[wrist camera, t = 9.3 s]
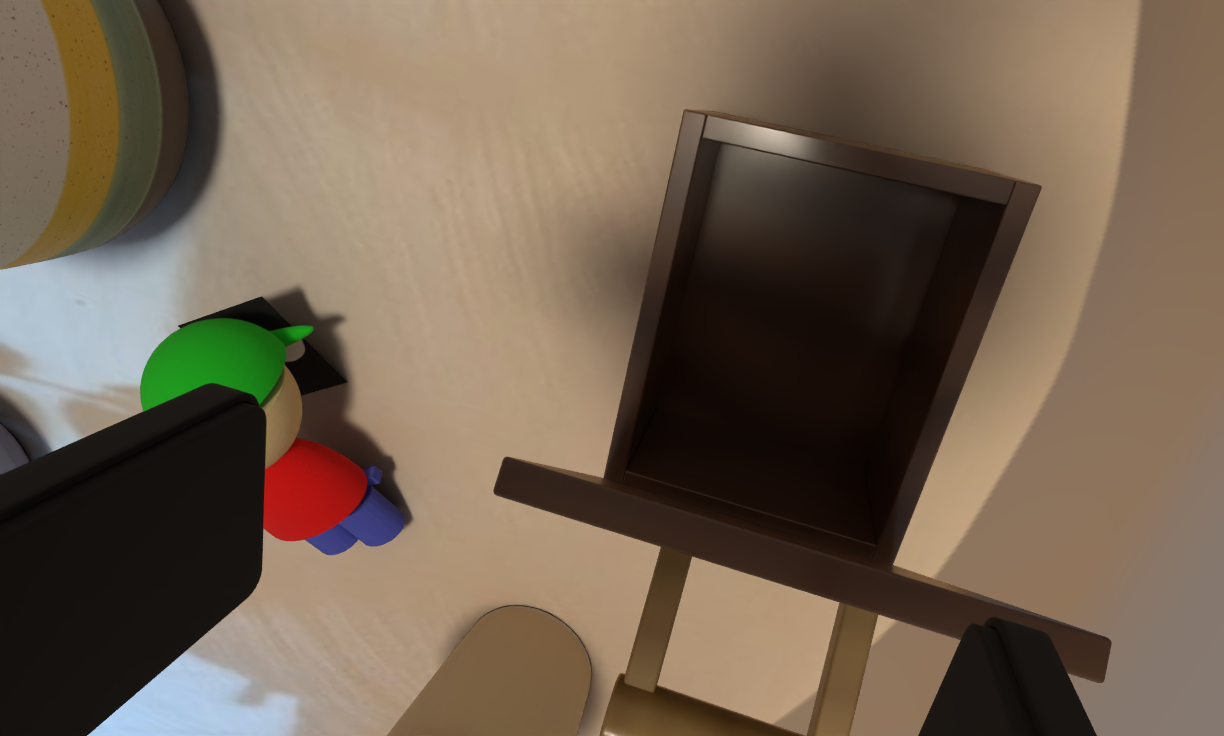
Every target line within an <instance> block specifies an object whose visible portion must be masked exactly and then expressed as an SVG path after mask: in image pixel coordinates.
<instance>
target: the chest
mask: <svg viewBox="0 0 1224 736" xmlns="http://www.w3.org/2000/svg"><path fill="white" fill-rule="evenodd" d="M1040 191H1041V186H1040V185H1037V184H1034V183H1030V182H1027V181H1023V180H1020V179H1017V178H1013V177H1010V176H1006V175H1003V174H1000V173H996V172H993V171H989V170H986V169H981V168H976V167H972V166H967V165H962V164H957V163H953V162H948V161H943V160H939V159H934V158H929V157H925V156H920V155H915V154H911V153H906V152H901V151H897V150H892V149H887V148H883V147H878V146H873V145H869V144H864V143H859V142H855V141H850V140H845V139H840V138H836V137H831V136H826V135H822V134H817V133H812V132H808V131H803V130H798V129H794V128H789V127H784V126H780V125H775V124H770V123H766V122H761V121H756V120H752V119H747V118H742V117H737V116H733V115H728V114H723V113H719V112H714V111H702V110H687V109H686V110H684V112H683V117H682V121H681V126H680V130H679V135H678V139H677V144H676V149H675V153H674V158H673V162H672V167H671V171H670V176H669V181H668V185H667V190H666V194H665V199H664V203H663V208H662V213H661V217H660V222H659V226H658V231H657V236H656V240H655V245H654V249H653V254H652V258H651V263H650V268H649V272H648V277H647V281H646V286H645V290H644V295H643V300H642V304H641V309H640V313H639V318H638V322H637V327H636V332H635V336H634V341H633V345H632V350H631V354H630V359H629V364H628V368H627V373H626V377H625V382H624V386H623V391H622V396H621V400H620V405H619V409H618V414H617V419H616V423H615V428H614V432H613V437H612V441H611V446H610V451H609V455H608V460H607V464H606V469H605V473H604V478H605V479H608V480H611V481H615V482H618V483H621V484H625V485H628V486H631V487H635V488H638V489H641V490H645V491H648V492H651V493H655V494H658V495H661V496H665V497H668V498H671V499H675V500H678V501H681V502H685V503H688V504H691V505H695V506H698V507H701V508H705V509H708V510H711V511H715V512H718V513H721V514H725V515H728V516H731V517H735V518H738V519H741V520H745V521H748V522H751V523H755V524H758V525H761V526H764V527H768V528H771V529H774V530H778V531H781V532H784V533H788V534H791V535H794V536H798V537H801V538H804V539H808V540H811V541H814V542H818V543H821V544H824V545H828V546H831V547H834V548H838V549H841V550H844V551H848V552H851V553H854V554H858V555H861V556H864V557H868V558H871V559H874V560H878V561H881V562H884V563H888V564H891V565H893V563H894V561H895V558H896V556H897V553H898V551H899V548H900V545H901V543H902V540H903V538H904V535H905V533H906V530H907V528H908V525H909V523H910V520H911V518H912V515H913V512H914V510H915V507H916V505H917V502H918V500H919V497H920V495H921V492H922V490H923V487H924V485H925V482H926V480H927V477H928V474H929V472H930V469H931V467H932V464H933V462H934V459H935V457H936V454H937V452H938V449H939V447H940V444H941V442H942V439H943V436H944V434H945V431H946V429H947V426H948V424H949V421H950V419H951V416H952V414H953V411H954V409H955V406H956V404H957V401H958V398H959V396H960V393H961V391H962V388H963V386H964V383H965V381H966V378H967V376H968V373H969V371H970V368H971V366H972V363H973V360H974V358H975V355H976V353H977V350H978V348H979V345H980V343H981V340H982V338H983V335H984V333H985V330H986V328H987V325H988V322H989V320H990V317H991V315H992V312H993V310H994V307H995V305H996V302H997V300H998V297H999V295H1000V292H1001V289H1002V287H1003V284H1004V282H1005V279H1006V277H1007V274H1008V272H1009V269H1010V267H1011V264H1012V262H1013V259H1014V257H1015V254H1016V251H1017V249H1018V246H1019V244H1020V241H1021V239H1022V236H1023V234H1024V231H1025V229H1026V226H1027V224H1028V221H1029V219H1030V216H1031V213H1032V211H1033V208H1034V206H1035V203H1036V201H1037V198H1038V196H1039V193H1040Z"/></svg>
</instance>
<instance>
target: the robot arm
mask: <svg viewBox="0 0 1224 736" xmlns="http://www.w3.org/2000/svg"><path fill="white" fill-rule="evenodd" d="M266 427H267V419H266V414H265V411H264V410H263V409H262V408H260V407H259V403H258V401H257V398H256V397H255V396H254V395H252V394H250V393H247V392H244V391H240V390H237V389H234V388H230V387H227V386H224V385H220V384H216V383H209V384H205V385H202V386H200V387H198V388H196V389H193V390H191V391H189V392H187V393H184V394H182V395H180V396H178V397H175V398H173V399H171V400H169V401H166V402H164V403H162V404H159V405H157V406H155V407H153V408H150V409H148V410H146V411H144V412H141V413H139V414H137V415H135V416H132V417H130V418H128V419H126V420H123V421H121V422H119V423H117V424H114V425H112V426H110V427H107V428H105V429H103V430H101V431H98V432H96V433H94V434H92V435H89V436H87V437H85V438H83V439H80V440H78V441H76V442H74V443H71V444H69V445H67V446H65V447H62V448H60V449H58V450H55V451H53V452H51V453H49V454H46V455H44V456H42V457H40V458H37V459H35V460H33V461H31V462H28V463H26V464H24V465H22V466H19V467H17V468H15V469H12V470H10V471H8V472H6V473H3V474H1V475H0V736H87V735H88V734H90V733H91V732H92V731H93V730H94V729H95V728H97V727H98V726H99V725H100V724H101V723H102V722H104V721H105V720H106V719H107V718H108V717H109V716H111V715H112V714H113V713H114V712H115V711H116V710H118V709H119V708H120V707H121V706H122V705H123V704H124V703H126V702H127V701H128V700H129V699H130V698H131V697H133V696H134V695H135V694H136V693H137V692H138V691H140V690H141V689H142V688H143V687H144V686H145V685H147V684H148V683H149V682H150V681H151V680H152V679H154V678H155V677H156V676H157V675H158V674H159V673H161V672H162V671H163V670H164V669H165V668H166V667H168V666H169V665H170V664H171V663H172V662H173V661H175V660H176V659H177V658H178V657H179V656H180V655H182V654H183V653H184V652H185V651H186V650H187V649H189V648H190V647H191V646H192V645H193V644H194V643H196V642H197V641H198V640H199V639H200V638H201V637H203V636H204V635H205V634H206V633H207V632H208V631H210V630H211V629H212V628H213V627H214V626H215V625H216V624H218V623H219V622H220V621H221V620H222V619H223V618H225V617H226V616H227V615H228V614H229V613H230V612H232V611H233V610H234V609H235V608H236V607H237V606H239V605H240V604H241V603H242V602H243V601H244V600H246V599H247V598H248V597H249V596H250V595H251V594H252V592H253V591H254V589H255V588H256V586H257V584H258V582H259V580H260V577H261V572H262V553H263V522H264V490H265V459H266ZM918 736H1097V735H1096V733H1095V731H1094V729H1093V727H1092V725H1091V722H1090V720H1089V718H1088V716H1087V714H1086V712H1085V710H1084V708H1083V706H1082V703H1081V701H1080V700H1079V697H1078V695H1077V693H1076V691H1075V689H1074V686H1073V684H1072V682H1071V680H1070V678H1069V676H1068V674H1067V672H1066V670H1065V667H1064V665H1063V663H1062V661H1061V659H1060V657H1059V655H1058V653H1057V651H1056V648H1055V646H1054V644H1053V642H1052V640H1051V638H1050V637H1049V635H1048V634H1047V633H1045V632H1043V631H1041V630H1037V629H1034V628H1031V627H1027V626H1024V625H1021V624H1017V623H1014V622H1011V621H1007V620H1004V619H1001V618H997V617H992V618H989V619H988V620H987V621H986V622H985V623H984V625H983V626H981V625H977V624H974V623H973V624H970V625H969V626H968V627H967V629H966V630H965V632H964V634H963V636H962V639H961V641H960V643H959V646H958V648H957V650H956V652H955V654H954V657H953V659H952V661H951V664H950V666H949V668H948V670H947V672H946V675H945V677H944V679H943V681H942V684H941V686H940V688H939V690H938V693H937V695H936V697H935V699H934V702H933V704H932V706H931V708H930V711H929V713H928V715H927V717H926V720H925V722H924V724H923V726H922V729H921V731H920V733H919V735H918Z"/></svg>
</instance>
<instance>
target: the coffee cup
mask: <svg viewBox="0 0 1224 736" xmlns="http://www.w3.org/2000/svg"><path fill="white" fill-rule="evenodd" d="M590 681H591V667H590V661H589V658H588V654H587V652H586V650H585V648H584V646H583V644H582V643H581V641H580V640H579V638H578V637H577V636H576V634H575V633H574V632H573V631H572V630H571V629H570V628H569V627H568V626H567V625H566V624H564V623H563V622H561V621H560V620H558V619H557V618H556V617H554V616H552V615H550V614H548V613H546V612H544V611H541V610H538V609H535V608H531V607H523V606H508V607H503V608H500V609H496V610H494V611H492V612H490V613H488V614H487V615H485V616H484V617H482V618H481V619H480V620H479V621H478V622H477V623H476V624H475V625H474V627H473V628H472V629H471V630H470V631H469V632H468V634H467V635H466V636H465V637H464V638H463V640H462V641H461V642H460V643H459V645H458V646H457V647H456V648H455V650H454V651H453V652H452V653H451V655H450V656H449V657H448V658H447V660H446V661H445V662H444V664H443V665H442V666H441V667H440V669H439V670H438V671H437V672H436V674H435V675H434V676H433V677H432V679H431V680H430V681H429V682H428V684H427V685H426V686H425V687H424V689H423V690H422V691H421V693H420V694H419V695H418V696H417V698H416V699H415V700H414V702H413V703H412V704H411V705H410V707H409V708H408V709H407V710H406V712H405V713H404V714H403V716H402V717H401V718H400V719H399V721H398V722H397V723H396V725H395V726H394V727H393V728H392V730H391V731H390V732H389V734H388V735H387V736H577V732H578V728H579V725H580V721H581V718H582V714H583V711H584V707H585V703H586V699H587V695H588V691H589V687H590Z"/></svg>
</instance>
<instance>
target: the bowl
mask: <svg viewBox="0 0 1224 736" xmlns="http://www.w3.org/2000/svg"><path fill="white" fill-rule="evenodd" d="M28 462H29V460H28V458H27V456H26V454H25V453H24V451H23V449H22V448H21V446H20V445H19V444H18V442H17V441H16V440H15V439H14V437H13V436H12V435H11V434H10V433H9V432H8V431H7V430H6V429H5V428H4V427H3V426H2V425H0V475H1V474H3V473H6V472H8V471H10V470H12V469H15V468H17V467H19V466H22V465H24V464H26V463H28Z"/></svg>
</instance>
